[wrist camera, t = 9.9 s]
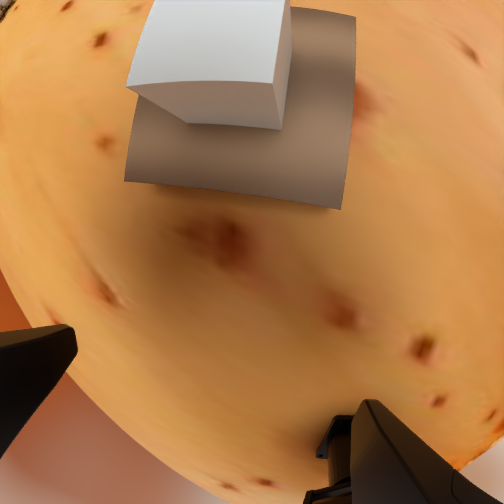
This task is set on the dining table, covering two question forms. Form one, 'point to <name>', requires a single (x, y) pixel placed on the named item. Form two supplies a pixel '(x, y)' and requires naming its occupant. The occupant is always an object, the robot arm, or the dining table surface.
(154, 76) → the grey-blue block
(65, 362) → the robot arm
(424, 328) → the dining table surface
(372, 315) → the dining table surface
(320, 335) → the dining table surface
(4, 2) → the chubby cartoon animal
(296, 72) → the walnut block
